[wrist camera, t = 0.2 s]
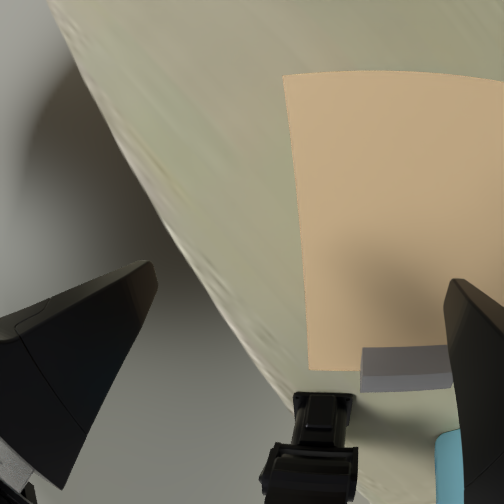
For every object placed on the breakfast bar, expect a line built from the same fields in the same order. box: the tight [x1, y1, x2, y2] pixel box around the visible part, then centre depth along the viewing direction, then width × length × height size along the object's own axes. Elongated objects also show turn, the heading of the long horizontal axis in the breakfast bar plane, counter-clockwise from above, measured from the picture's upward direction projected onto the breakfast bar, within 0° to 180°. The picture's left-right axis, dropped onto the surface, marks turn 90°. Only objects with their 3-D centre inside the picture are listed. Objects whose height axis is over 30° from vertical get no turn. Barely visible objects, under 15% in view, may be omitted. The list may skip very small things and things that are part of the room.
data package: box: [434, 429, 464, 504], centre depth 26 cm, size 12×4×12 cm, turn 115°
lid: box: [282, 71, 504, 392], centre depth 14 cm, size 18×13×3 cm
